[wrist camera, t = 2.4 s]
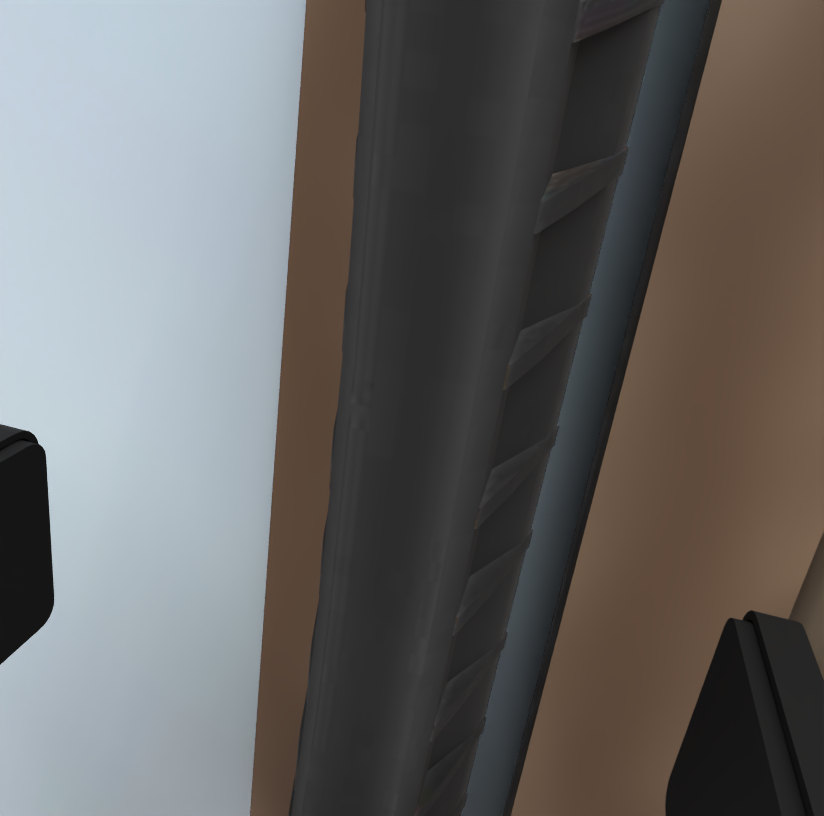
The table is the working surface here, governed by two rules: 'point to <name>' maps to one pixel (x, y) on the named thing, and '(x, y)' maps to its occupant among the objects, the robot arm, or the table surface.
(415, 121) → the magazine
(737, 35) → the rack
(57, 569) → the table surface
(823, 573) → the offcut
